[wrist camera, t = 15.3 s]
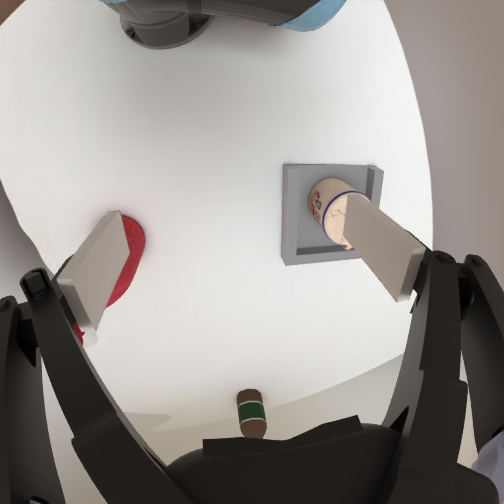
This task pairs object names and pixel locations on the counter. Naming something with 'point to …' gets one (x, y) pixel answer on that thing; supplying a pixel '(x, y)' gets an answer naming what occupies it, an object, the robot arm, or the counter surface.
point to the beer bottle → (251, 414)
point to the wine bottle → (129, 269)
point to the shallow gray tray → (301, 220)
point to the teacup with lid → (331, 207)
